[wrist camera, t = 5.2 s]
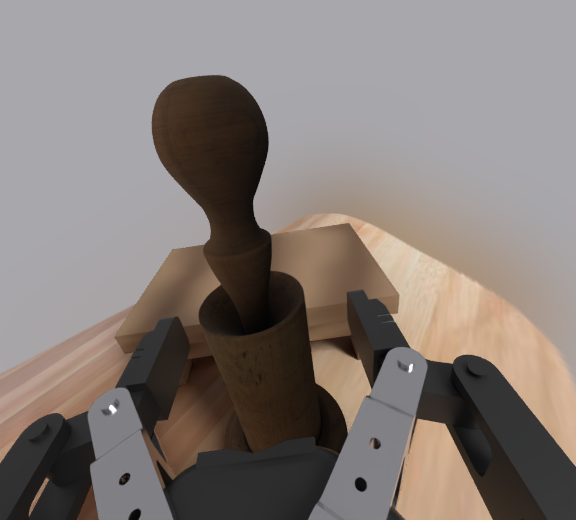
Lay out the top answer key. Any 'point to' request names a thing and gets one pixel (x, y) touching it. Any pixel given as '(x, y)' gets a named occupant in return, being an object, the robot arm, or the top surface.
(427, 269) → the top surface
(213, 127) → the mortar and pestle
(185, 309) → the footstool
